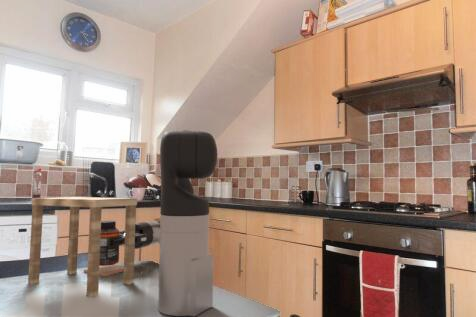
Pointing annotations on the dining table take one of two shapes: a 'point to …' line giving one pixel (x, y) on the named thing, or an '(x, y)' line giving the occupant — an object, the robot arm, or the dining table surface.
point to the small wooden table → (94, 236)
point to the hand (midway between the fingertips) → (100, 242)
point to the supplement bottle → (107, 253)
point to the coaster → (109, 269)
